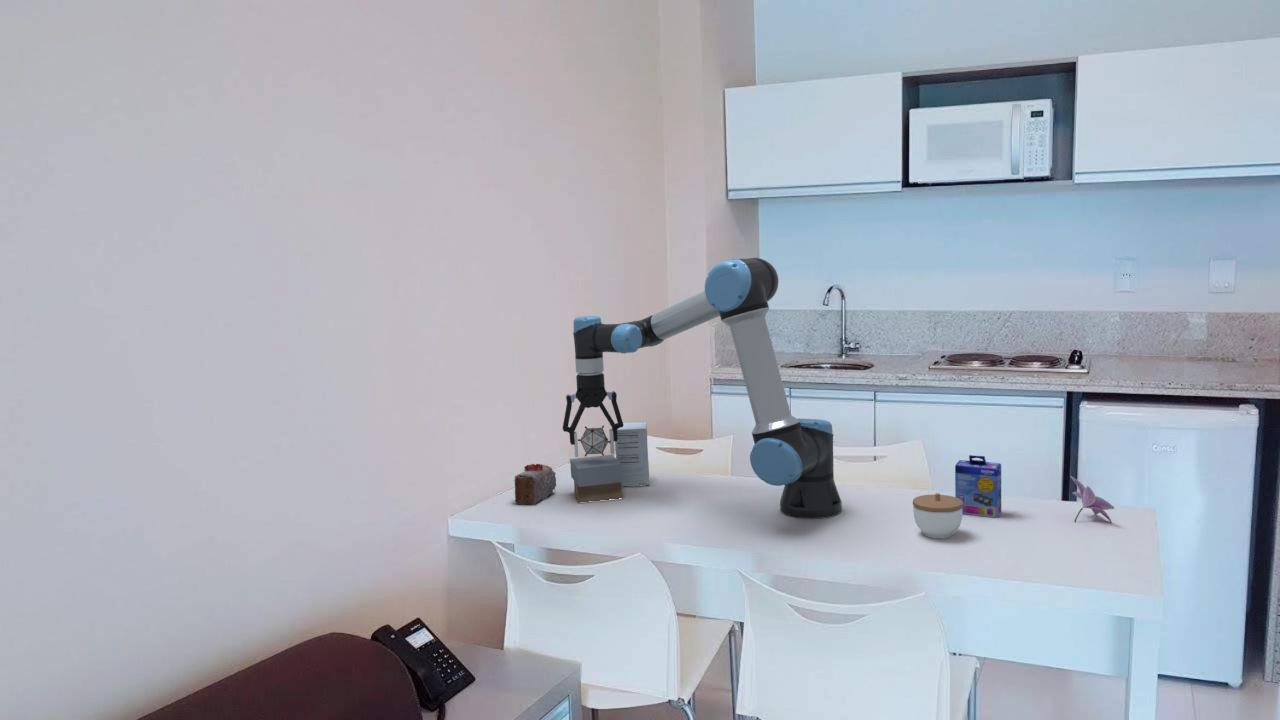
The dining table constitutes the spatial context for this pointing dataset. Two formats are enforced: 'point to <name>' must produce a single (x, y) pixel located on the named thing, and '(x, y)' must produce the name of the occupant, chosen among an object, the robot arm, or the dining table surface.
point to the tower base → (598, 492)
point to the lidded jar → (938, 514)
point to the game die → (594, 441)
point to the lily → (1091, 500)
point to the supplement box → (633, 453)
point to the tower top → (596, 470)
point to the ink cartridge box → (979, 486)
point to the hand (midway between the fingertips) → (594, 454)
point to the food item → (534, 484)
